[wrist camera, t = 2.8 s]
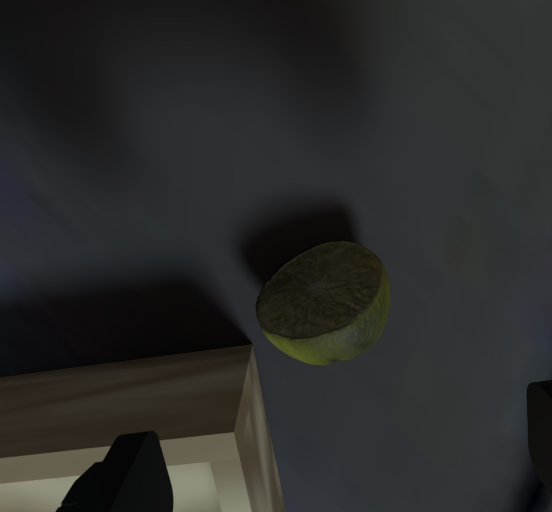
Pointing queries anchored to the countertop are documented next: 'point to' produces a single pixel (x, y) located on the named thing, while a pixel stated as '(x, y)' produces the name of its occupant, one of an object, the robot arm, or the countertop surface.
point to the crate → (142, 429)
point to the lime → (326, 303)
